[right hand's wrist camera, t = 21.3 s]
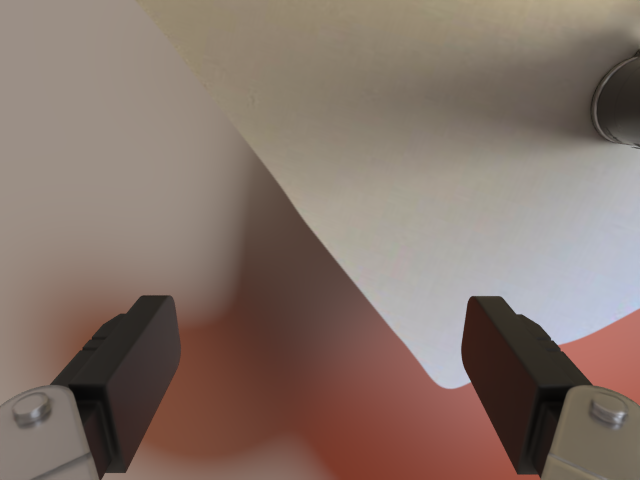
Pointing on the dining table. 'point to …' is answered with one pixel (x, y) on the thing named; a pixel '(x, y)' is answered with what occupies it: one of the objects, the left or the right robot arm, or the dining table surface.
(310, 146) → the dining table surface
